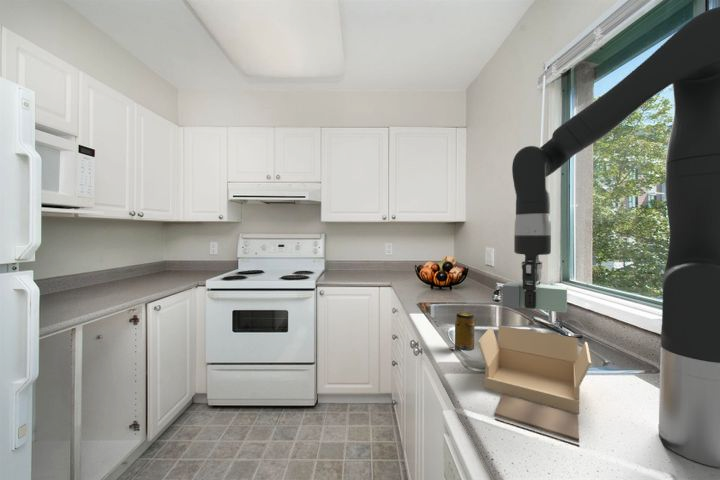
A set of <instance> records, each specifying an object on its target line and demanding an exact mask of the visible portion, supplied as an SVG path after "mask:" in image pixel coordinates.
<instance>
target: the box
mask: <svg viewBox="0 0 720 480" xmlns="http://www.w3.org/2000/svg"><path fill="white" fill-rule="evenodd" d="M527 285H533V284H527ZM522 286H523V281H522V282H521V281H507V282H506V283H504V284H503V285H502V307H504V308H510V309H511V308H513V309H522V308H524V309H527V308H526V307H525V291H524V290H523V288H522ZM529 309H531V308H529ZM567 309H568V286H565V285H564V286H563V285H562V286H561V285H560V286H559V285H549V284H540V285H538V284H537V291H536V308H535V309H534V310H541V311H549V312H557V313H566V314H567V311H568V310H567ZM531 310H532V309H531Z"/></svg>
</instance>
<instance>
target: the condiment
mask: <svg viewBox="0 0 720 480" xmlns="http://www.w3.org/2000/svg"><path fill="white" fill-rule="evenodd" d="M454 347H455V350H456V349H457V350H461V351H464V352H465V351H467V352H469V351H474V350H475V322H474V315H473V314H472V313H471V312H466V311H465V312H464V311H463V312H462V311H460V312H457V313H456V321H454ZM451 348H452V347H449V348H448V349H449V350H451Z"/></svg>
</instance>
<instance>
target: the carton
mask: <svg viewBox="0 0 720 480" xmlns="http://www.w3.org/2000/svg"><path fill="white" fill-rule="evenodd" d="M497 331H498V332H497V337H496V335H495V331H494V328H493V326H489V327H488V329H487V330H486V331H485V332H484V334H483V335H481V337H480V338H479V340H478V341H477V344H478V348H479V351H480V353H481V356H482V360H483V362H484V365H485V367H484V380H483V381H484V383H483V386H484V387H483V388H484V389H486V390H490V391H494V392H498V393H501V394H504V395H508V396H511V397H515V398H519V399H522V400H526V401H530V402H533V403H537V404H541V405H544V406H548V407H552V408H555V409H559V410H563V411H566V412H570V413H574V414H577V415H579V414H580V387H581V384H582V382H583V381H584V379H585V377H586V375H587V373H588V371H589V369H590V367H591V366H592V360H591V354H590V349H589V344H588V342H587V341H584V343H583V345H582V347H581V349H580V351H579V353H578V350H579V349H578V348H579V347H578V346H579V345H578V340H579V338H578V337H575V336H568V335H560V334H554V333H548V332H543V331H535V330H529V329H522V328H516V327H510V326H504V325H498V330H497Z"/></svg>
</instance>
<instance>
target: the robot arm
mask: <svg viewBox="0 0 720 480" xmlns="http://www.w3.org/2000/svg"><path fill="white" fill-rule="evenodd" d="M671 85H672V89H673V90H672V91H673V101H674V115H673V121H672V124H671V129H670V133H669V134H670V135H669V138H668V143H667V149H666V156H665V157H666V158H665V178H664V179H665V183H664V185H665V201H666V202H665V203H666V210H667V218H668V225H669V243H668V251H667V256H666V257H667V258H666V264H665V267H664V268H665V269H664V274H663V276H662V278H661V279H662V280H661V289H662V308H661V309H662V311H661V312H662V313H661V317H662V318H661V330H660V331H661V332H660V360H659V362H660V363H659V365H660V367H659V368H660V369H659V400H658V404H659V405H658V406H659V407H658V434H657V435H658V437H659V439H660V441H661V443H662V444H663V445H664V447H665V446H666V447H667V448H668V449H669V450H671V451H672V452H675V453H676V454H678V455H680V456H681V457H684V458H686V459H689V460H691V461H693V462H696V463H699V464H701V465H706V466H709V467H714V468H720V6H717V7H714V8H711V9H708V10H706V11H703V12H702V13H699V14H698V15H697V16H694V17H693V18H692V19H690V20H689V21H688V22H686V23H685V24H684V25H683V26H682V27H680V28H679V29H678V30H677V31H676V32H675V33H673V35H671V37H669V38H668V39H667V40H666V41H665V42H663V44H662V45H660V47H658V49H656V50H655V51H654V52H652V54H651V55H650V56H649V57H648V58H646V59H645V60H644V61H643V62H642V63H641V64H640V65H638V66H636V67H635V69H634V70H633V69H632V71H631V72H630V73H628V74H627V75H626V76H625V77H624V78H623V79H622V80H620V81H619V82H618V83H617V84H615V85H614V86H613V87H612V88H610V89H609V90H608V91H606V92H605V93H603V94H602V95H601V96H600V97H598V98H597V99H595V101H593V102H592V103H590V104H589V105H588V106H586V107H584V108H583V109H582V110H580V111H578V112H577V114H575V115H573V116H572V117H570V118H569V119H568V120H567V121H565V122H564V123H563V124H562V123H561V125H560V126H559V127H557V128H556V129H555V130H554V131H553V133H552V136H551V138H550V139H549V140H547V141H546V142H545V143H543V145H541V146H540V147H538V146H536V145H528V146H524V147H522V148H521V149H520V150H519V151H517V153H516V154H515V156H514V157H513V160H512V167H511V170H512V174H511V175H512V181H513V187H514V191H515V196H516V198H515V220H514V234H513V235H514V238H513V239H514V240H513V241H514V248H513V249H514V250H513V252H514V254H517V255H524V256H525V257H524V261H522V262H521V269H522V271H521V272H522V274H521V280H522V282H523V286H522V288H523V290H524V291H525V307H526V308H525V309H530V308H531V310H536V309H535V308H536V291H537V284H538V285H541V280H542V269H543V262H542V261H541V260H540V258H539V255H541V256H543V255H545V256H547V255H550V254H551V252H552V223H551V198H550V197H551V196H550V193H549V191H548V189H547V186H546V185H547V181H546V180H547V177H549V176H550V175H551V174H553V173H555V172H556V171H557V170H559V169H560V168H561V167H562V166H564V165H565V164H566V163H567V162H568V161H569V160H570V159H571V158H572V157H574V156H575V155H577V154H578V153H580V152H582V151H583V150H585V149H587V148H588V147H589V146H591V145H593V144H594V143H595V142H597V141H599V140H600V139H602V138H604V137H605V136H607V135H608V134H609V133H611V132H612V131H613V130H614V129H616V128H617V127H618V126H619V125H621V124H622V123H623V122H624V121H625V120H627V119H628V118H629V117H630V116H631V115H632V114H633V113H634V112H635V111H637V110H639V108H640V107H641V106H643V105H644V104H645V103H647V102H648V101H649V100H651V99H652V98H654V96H656V95H657V94H658V93H660V92H662V91H663V90H665V89H666V88H669V86H671ZM527 284H533V285H527Z"/></svg>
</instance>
